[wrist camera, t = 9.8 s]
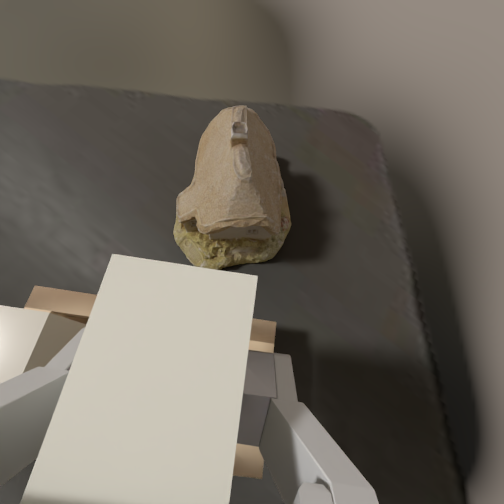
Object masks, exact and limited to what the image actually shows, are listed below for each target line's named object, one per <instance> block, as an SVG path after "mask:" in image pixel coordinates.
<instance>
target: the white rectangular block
mask: <svg viewBox="0 0 504 504" xmlns="http://www.w3.org/2000/svg"><path fill="white" fill-rule="evenodd" d="M257 278H258V276H254V275H248V274H241V273H235V272H228V271H221V270H215V269H208V268H202V267H195V266H189V265H182V264H176V263H169V262H162V261H156V260H149V259H143V258H136V257H130V256H123V255H117V254H112V257H111V259H110V262H109V265H108V267H107V270H106V273H105V276H104V278H103V281H102V284H101V286H100V289H99V292H98V294H97V297H96V300H95V303H94V305H93V308H92V311H91V313H90V316H89V319H88V322H87V324H86V327H85V330H84V332H83V335H82V338H81V340H80V343H79V346H78V349H77V351H76V354H75V357H74V359H73V362H72V365H71V368H70V370H69V373H68V376H67V378H66V381H65V384H64V386H63V389H62V392H61V395H60V397H59V400H58V403H57V405H56V408H55V411H54V413H53V416H52V419H51V422H50V424H49V427H48V430H47V432H46V435H45V438H44V441H43V443H42V446H41V449H40V451H39V454H38V457H37V459H36V462H35V465H34V468H33V470H32V473H31V476H30V478H29V481H28V484H27V487H26V489H25V492H24V495H23V497H22V500H21V503H20V504H229V500H230V492H231V484H232V476H233V468H234V460H235V452H236V444H237V436H238V428H239V420H240V412H241V405H242V397H243V389H244V381H245V373H246V365H247V357H248V349H249V341H250V333H251V325H252V317H253V309H254V302H255V294H256V286H257Z"/></svg>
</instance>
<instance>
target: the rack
mask: <svg viewBox="0 0 504 504" xmlns="http://www.w3.org/2000/svg"><path fill="white" fill-rule="evenodd" d="M96 297H97V295H94V294H87V293H80V292H74V291H67V290H61V289H54V288H47V287H41V286H35V287H34V289H33V291H32V293H31V295H30V297H29V299H28V301H27V303H26V305H25V307H24V309H28V310H35V311H42V312H49V313H52V314H55V315H58V316H62V317H65V318H68V319H71V320H74V321H77V322H80V323H83V324H87V322H88V319H89V316H90V313H91V311H92V308H93V305H94V303H95V300H96ZM275 330H276V322H272V321H266V320H259V319H253V318H252V325H251V333H250V341H249V349H248V350H255V351H262V352H269V353H273V352H274V341H275ZM263 462H264V459H263V457H262V455H261V453H260V450H259V447H256V446H250V445H244V444H238V443H237V444H236V452H235V460H234V468H233V475H235V476H243V477H251V478H258V479H262V473H263Z"/></svg>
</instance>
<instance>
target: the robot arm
mask: <svg viewBox="0 0 504 504" xmlns="http://www.w3.org/2000/svg"><path fill="white" fill-rule="evenodd" d="M84 330H85V327H84V328H82V329H81V330H80V331H79V332H78V333H77V334H76V335H75V336H74V337H73V338H72V339H71V340H70V341H69V342H68V343H67V344H66V346H65V347H64V348H63V349H62V350H61V351H60V352H59V353H58V354H57V355H56V356H55V357H54V358H53V359H52V360H51V361H50V362H49V363H48V364H47V365H46V366H45V367H36V368H34V369H32V370H29V371H27V372H25V373H23V374H21V375H18V376H16V377H14V378H12V379H9V380H7V381H5V382H3V383H1V384H0V487H1V486H2V485H3V484H4V483H6V482H7V481H8V480H10V479H11V478H12V477H13V476H15V475H16V474H17V473H18V472H20V471H21V470H22V469H24V468H25V467H26V466H27V465H29V464H30V463H31V462H32V461H34V460H35V459H36V458H37V457H38V454H39V451H40V449H41V446H42V443H43V441H44V438H45V435H46V432H47V430H48V427H49V424H50V422H51V419H52V416H53V413H54V411H55V408H56V405H57V403H58V400H59V397H60V395H61V392H62V389H63V386H64V384H65V381H66V378H67V376H68V373H69V370H70V368H71V365H72V362H73V359H74V357H75V354H76V351H77V349H78V346H79V343H80V340H81V338H82V335H83V332H84ZM237 443H238V444H244V445H250V446H256V447H259V450H260V453H261V455H262V457H263V459H264V461H265V463H266V465H267V467H268V470H269V472H270V474H271V476H272V478H273V480H274V482H275V485H276V487H277V489H278V491H279V493H280V495H281V497H282V500H283V502H284V504H379V503H378V500H377V497H376V494H375V491H374V489H373V488H372V486H371V485H370V484H369V483H368V481H367V480H366V479H365V478H364V477H363V475H362V474H361V473H360V472H359V470H358V469H357V468H356V467H355V465H354V464H353V463H352V462H351V461H350V459H349V458H348V457H347V456H346V454H345V453H344V452H343V451H342V450H341V448H340V447H339V446H338V445H337V443H336V442H335V441H334V440H333V439H332V437H331V436H330V435H329V434H328V432H327V431H326V430H325V429H324V427H323V426H322V425H321V424H320V423H319V421H318V420H317V419H316V418H315V416H314V415H313V414H312V413H311V412H310V410H309V409H308V408H307V407H306V405H305V404H304V403H302V402H298V399H297V393H296V386H295V380H294V374H293V367H292V361H291V357H290V355H288V354H280V353H269V352H262V351H255V350H248V357H247V365H246V373H245V381H244V389H243V397H242V405H241V412H240V420H239V428H238V436H237Z"/></svg>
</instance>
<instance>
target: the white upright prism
mask: <svg viewBox="0 0 504 504" xmlns="http://www.w3.org/2000/svg"><path fill="white" fill-rule="evenodd" d="M84 327H86V324H83V323H80V322H77V321H74V320H71V319H68V318H65V317H62V316H58V315H55V314H52V313H49V312H42V311H35V310H28V309H22V308H15V307H8V306H1V305H0V384H1V383H3V382H5V381H7V380H9V379H12V378H14V377H16V376H18V375H21V374H23V373H25V372H27V371H29V370H32V369H34V368H36V367H45V366H46V365H47V364H48V363H49V362H50V361H51V360H52V359H53V358H54V357H55V356H56V355H57V354H58V353H59V352H60V351H61V350H62V349H63V348H64V347H65V346H66V344H67V343H68V342H69V341H70V340H71V339H72V338H73V337H74V336H75V335H76V334H77V333H78V332H79V331H80V330H81V329H82V328H84Z"/></svg>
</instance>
